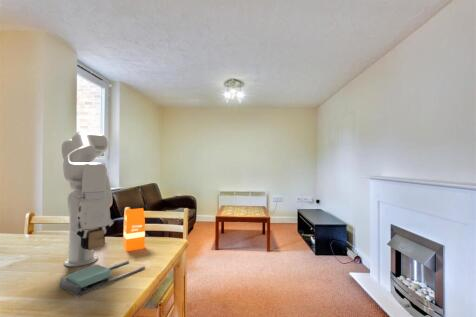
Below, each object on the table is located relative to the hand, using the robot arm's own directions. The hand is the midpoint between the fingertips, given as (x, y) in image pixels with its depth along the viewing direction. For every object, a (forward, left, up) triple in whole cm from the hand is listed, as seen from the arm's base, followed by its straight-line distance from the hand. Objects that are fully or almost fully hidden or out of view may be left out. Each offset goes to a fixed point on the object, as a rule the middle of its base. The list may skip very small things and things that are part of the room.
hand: (93, 245), depth 90 cm
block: (0, 0, -1) cm, 1 cm away
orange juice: (-21, +32, -14) cm, 40 cm away
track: (0, +6, -13) cm, 14 cm away
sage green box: (0, -1, -13) cm, 13 cm away
